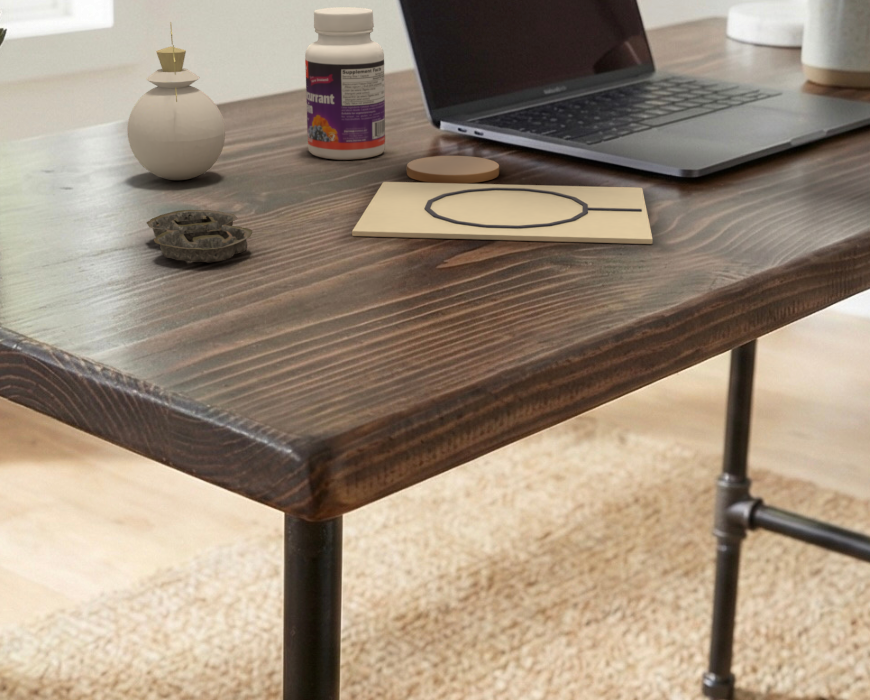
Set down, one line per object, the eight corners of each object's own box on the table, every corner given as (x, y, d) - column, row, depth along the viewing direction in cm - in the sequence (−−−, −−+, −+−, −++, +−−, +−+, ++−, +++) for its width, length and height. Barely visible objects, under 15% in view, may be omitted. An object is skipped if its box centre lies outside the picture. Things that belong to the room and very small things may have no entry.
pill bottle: (295, 149, 92) (290, 8, 88) (363, 142, 94) (361, 4, 91) (328, 164, 87) (324, 15, 84) (398, 155, 90) (397, 11, 87)
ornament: (223, 167, 86) (215, 12, 83) (233, 192, 80) (224, 25, 76) (130, 171, 85) (118, 14, 82) (132, 197, 78) (118, 27, 75)
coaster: (501, 165, 87) (501, 156, 87) (496, 185, 81) (496, 175, 81) (412, 163, 88) (412, 154, 87) (401, 183, 82) (401, 173, 82)
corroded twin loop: (230, 223, 72) (229, 205, 72) (264, 261, 65) (263, 241, 64) (138, 231, 70) (137, 212, 70) (163, 271, 63) (162, 250, 63)
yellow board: (641, 192, 80) (642, 185, 79) (652, 244, 68) (652, 237, 68) (383, 186, 81) (383, 179, 81) (352, 236, 70) (352, 228, 70)
